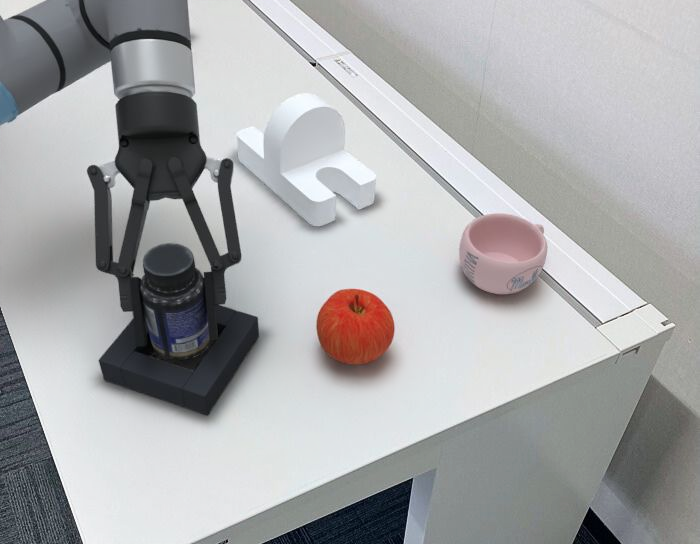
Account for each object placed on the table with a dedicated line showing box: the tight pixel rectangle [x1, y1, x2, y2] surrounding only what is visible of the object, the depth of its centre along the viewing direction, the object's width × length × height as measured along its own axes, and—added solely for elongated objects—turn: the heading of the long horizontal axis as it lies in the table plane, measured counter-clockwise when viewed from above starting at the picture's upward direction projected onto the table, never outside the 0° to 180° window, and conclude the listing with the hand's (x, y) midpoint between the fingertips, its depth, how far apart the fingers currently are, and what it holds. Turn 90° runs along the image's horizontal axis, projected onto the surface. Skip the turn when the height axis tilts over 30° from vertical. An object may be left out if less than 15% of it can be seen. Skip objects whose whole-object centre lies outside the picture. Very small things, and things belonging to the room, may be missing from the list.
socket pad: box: [98, 304, 260, 416], centre depth 80 cm, size 12×12×3 cm
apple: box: [315, 288, 396, 366], centre depth 80 cm, size 8×8×8 cm
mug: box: [458, 212, 548, 295], centre depth 90 cm, size 12×10×6 cm
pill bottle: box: [140, 242, 212, 361], centre depth 75 cm, size 6×6×11 cm
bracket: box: [236, 92, 377, 227], centre depth 99 cm, size 19×10×11 cm, turn 37°
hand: (178, 342), depth 74 cm, fingers closed on pill bottle, 6 cm apart
